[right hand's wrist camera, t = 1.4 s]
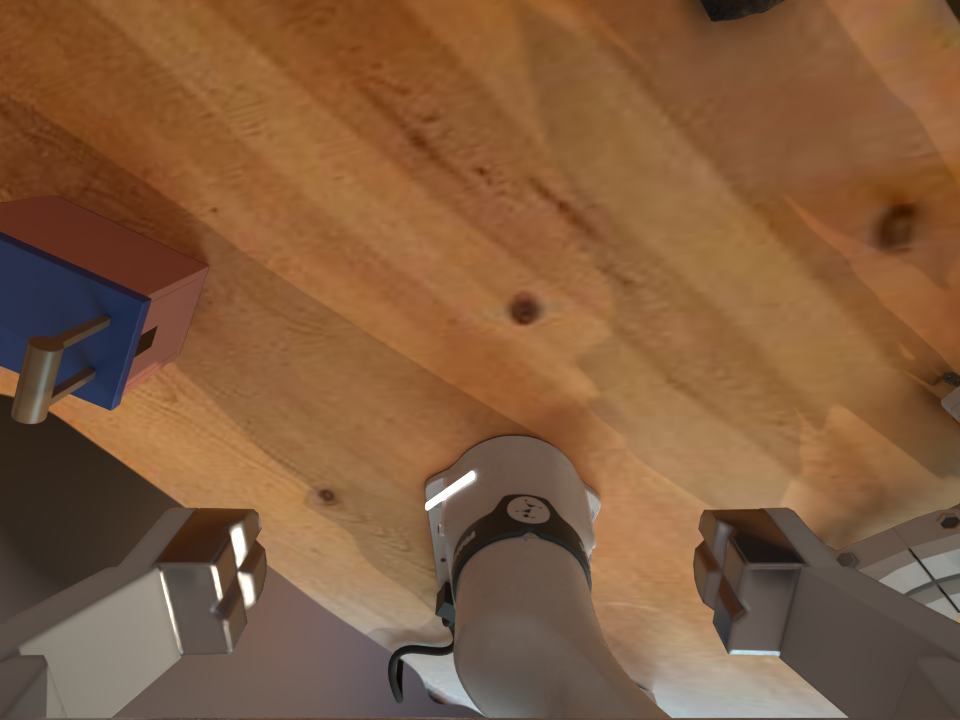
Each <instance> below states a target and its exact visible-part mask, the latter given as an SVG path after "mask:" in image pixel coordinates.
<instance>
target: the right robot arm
mask: <svg viewBox="0 0 960 720" xmlns="http://www.w3.org/2000/svg"><path fill="white" fill-rule="evenodd" d="M425 495H426V502H427V503H426V507H425V509H426V510H428V516H429V523H430V530H431V537H432V544H433V551H434V558H435V565H436V572H437V579H438V586H439V590H440V591H439V592H438V594H437V603H436V613H435V615H437V616H440V617H442V622H443V625H444V626H445V627H449V628H450V630H451V632H452V635H453V642H452V644H450V645H449V646H447V647H428V646H419V645H409V646H404V647H401V648H399V649H398V650H397V651H395V652H394V654H393V655H392V656H391V659H390V661H389V666H388V676H389V682H390V686H391V689H392V692H393V695H394V697H395V699H396V701H397V703H402V701H403V685H402V678H403V663H404V660H402V659H401V658H400V657H401V656H402V655H405V654H410V653H416V654H426V655H435V656H443V655H448V654H450V653H452V652H453V656H454V664H455V669H456V672H457V675H458V678H459V680H460V682H461V684H462V686H463V688H464V690H465V691H466V693H467V695H468V696H469V698H470V699H471V701H472V702H473V703H474V705H475V706H476V707H477V708H478V709H479V710H480V711H481V712H482V713H483V714H484V715H485V716H486V717H487V718H111V717H112V716H114V715H115V714H116V713H117V712H118V711H119V710H121V709H122V708H123V707H124V706H125V705H126V704H128V703H129V702H130V701H131V700H132V699H133V698H135V697H136V696H137V695H138V694H139V693H140V692H142V691H143V690H144V689H145V688H146V687H148V686H149V685H150V684H151V683H152V682H153V681H154V680H156V679H157V678H158V677H159V676H160V675H162V674H163V673H164V672H165V671H166V670H167V669H169V668H170V667H171V666H172V665H173V664H174V663H176V662H177V661H178V660H179V659H180V658H181V657H180V655H207V654H232V653H233V651H234V649H235V647H236V644H237V642H238V640H239V638H240V636H241V634H242V632H243V630H244V628H245V626H246V624H247V618H246V612H245V611H246V610H247V609H249V608H250V607H251V606H253V605H254V604H255V603H257V601H258V599H259V597H260V595H261V593H262V590H263V586H264V582H265V577H266V562H267V560H266V553H265V549H264V548H263V547H262V546H261V545H260V544H259V543H258V542H257V541H256V538H257V536H258V534H259V532H260V531H261V529H262V528H261V524H260V519H259V514H258V513H257V512H256V511H255V510H254V509H225V508H200V509H199V508H172V509H169V510H167V511H166V512H165V513H164V514H163V515H162V516H161V517H160V518H159V520H158V521H157V522H156V523H155V524H154V525H153V526H152V528H151V529H150V530H149V531H148V532H147V534H146V535H145V536H144V537H143V538H142V539H141V540H140V542H139V543H138V544H137V545H136V546H135V547H134V549H133V550H132V551H131V552H130V553H129V554H128V556H127V557H126V558H125V559H124V560H123V561H122V563H121V564H120V565H119V566H118V567H108V568H106V569H104V570H102V571H100V572H98V573H96V574H94V575H92V576H90V577H89V578H87V579H85V580H83V581H81V582H79V583H77V584H75V585H73V586H71V587H69V588H67V589H65V590H63V591H61V592H59V593H58V594H56V595H54V596H52V597H50V598H48V599H46V600H44V601H42V602H40V603H38V604H36V605H34V606H32V607H30V608H29V609H27V610H25V611H23V612H21V613H19V614H17V615H15V616H13V617H11V618H9V619H7V620H6V621H3V622H2V623H0V720H960V623H958V622H956V621H954V620H952V619H950V618H949V617H947V616H945V615H943V614H941V613H939V612H937V611H935V610H933V609H931V608H929V607H927V606H925V605H924V604H922V603H920V602H918V601H916V600H914V599H912V598H910V597H908V596H906V595H904V594H902V593H900V592H898V591H897V590H895V589H893V588H891V587H889V586H887V585H885V584H883V583H881V582H879V581H877V580H875V579H873V578H871V577H870V576H868V575H866V574H864V573H862V572H860V571H858V570H856V569H854V568H852V567H842V566H841V565H840V564H839V562H838V561H837V560H836V559H835V558H834V557H833V556H832V554H831V553H830V552H829V551H828V550H827V549H826V547H825V546H824V545H823V544H822V543H821V542H820V540H819V539H818V538H817V537H816V536H815V535H814V533H813V532H812V531H811V530H810V529H809V528H808V527H807V525H806V524H805V523H804V522H803V521H802V520H801V518H800V517H799V516H798V515H797V514H796V513H795V511H793V510H791V509H789V508H760V509H728V510H704V511H703V513H702V515H701V517H700V523H699V528H698V529H699V531H700V532H701V534H702V536H703V538H704V541H703V542H702V543H701V544H700V545H699V546H698V547H697V548H696V549H695V554H694V562H693V567H694V579H695V583H696V587H697V590H698V593H699V595H700V597H701V599H702V601H703V603H704V604H706V605H707V606H709V607H710V608H711V609H713V610H714V611H715V612H714V617H713V624H714V626H715V628H716V630H717V632H718V634H719V636H720V638H721V640H722V642H723V644H724V646H725V648H726V650H727V652H728V654H751V655H780V656H779V658H780V659H781V660H782V661H784V662H785V663H786V664H787V665H788V666H789V667H791V668H792V669H793V670H794V671H795V672H796V673H798V674H799V675H800V676H801V677H802V678H803V679H805V680H806V681H807V682H808V683H809V684H810V685H812V686H813V687H814V688H815V689H816V690H817V691H819V692H820V693H821V694H822V695H823V696H824V697H826V698H827V699H828V700H829V701H830V702H831V703H833V704H834V705H835V706H836V707H837V708H838V709H839V710H841V711H842V712H843V713H844V714H845V715H846V716H848V717H849V718H671V717H670V716H669V715H668V714H667V713H665V712H664V711H663V710H662V709H661V708H659V707H658V706H657V705H656V704H655V703H654V702H653V701H652V700H651V699H650V698H649V697H648V696H647V695H646V694H645V693H644V692H643V691H642V690H641V689H640V688H639V687H638V686H637V685H636V684H635V683H634V682H633V680H632V679H631V678H630V677H629V676H628V675H627V673H626V672H625V671H624V670H623V668H622V667H621V666H620V664H619V663H618V662H617V660H616V659H615V657H614V656H613V654H612V652H611V651H610V649H609V647H608V645H607V643H606V641H605V638H604V636H603V633H602V630H601V627H600V624H599V621H598V618H597V615H596V612H595V609H594V606H593V602H592V599H591V595H590V594H591V569H590V562H591V551H592V549H593V548H595V547H596V537H595V531H594V526H593V523H594V521H595V519H596V516H597V514H598V512H599V510H600V507H601V502H600V497H599V495H598V494H597V493H596V492H595V491H594V490H593V489H592V488H591V487H589V486H588V485H587V484H585V483H584V482H583V481H582V480H581V479H580V477H579V476H578V474H577V472H576V470H575V468H574V466H573V465H572V463H571V462H570V460H569V459H568V458H567V457H566V456H565V455H564V454H563V453H562V452H561V451H560V450H558V449H557V448H555V447H554V446H552V445H551V444H549V443H547V442H544V441H542V440H539V439H536V438H532V437H527V436H502V437H497V438H493V439H490V440H487V441H484V442H482V443H480V444H478V445H476V446H474V447H473V448H471V449H470V450H468V451H467V452H466V453H465V454H464V455H463V456H462V457H461V458H460V459H459V460H458V461H457V462H456V463H455V464H454V465H453V466H452V467H451V468H449V469H448V470H446V471H443V472H441V473H439V474H437V475H435V476H433V477H431V478H430V479H428V480H427V482H426V484H425ZM396 663H397V670H396V673H395V667H396Z"/></svg>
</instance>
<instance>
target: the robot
mask: <svg viewBox="0 0 960 720" xmlns="http://www.w3.org/2000/svg"><path fill="white" fill-rule="evenodd" d="M941 379H942V380H943V381H945V382H946V383H949V384H952V385H954V386H956V387H957V388H956V389H955V390H953V391H952V392H951V393H949V394H948V395H947V396H946V397H944V398H943V399H942V400H941V403H942V407H943V408H944V409H945V410H946V411H948V412H949V413H950V414H951V415H952V416H953V419H954V420H955V421H956V422H957V423H958V424H959V425H960V375H958V374H955V373H945V374H944V375H943V376H942V378H941ZM820 542H821V543H822V544H823V545H824V546H825V547H826V549H827V550H828V551H829V552H830V553H831V554H832V556H833V557H834V558H835V559H836V560H837V561H838V562H839V564H840V565H841V566H842V567H852V568H854V569H856V570H858V571H860V572H862V573H864V574H866V575H868V576H870V577H871V578H873V579H875V580H877V581H879V582H881V583H883V584H885V585H887V586H889V587H891V588H893V589H895V590H897V591H898V592H900V593H902V594H904V595H906V596H908V597H910V598H912V599H914V600H916V601H918V602H920V603H922V604H924V605H925V606H927V607H929V608H931V609H933V610H935V611H937V612H939V613H941V614H943V615H945V616H947V617H949V618H950V619H952V620H953V619H955V618H958V617H960V616H959V614H958V613H960V504H958V505H956V506H954V507H952V508H950V509H947V510H938V511H935V512H932V513H929V514H926V515H923V516H920V517H917V518H914V519H912V520H909V521H907V522H905V523H902V524H900V525H897V526H895V527H893V528H890V529H888V530H886V531H883V532H881V533H878V534H876V535H874V536H871V537H869V538H866V539H864V540H862V541H859V542H857V543H854V544H852V545H850V546H847V547H845V548H843V549H840V550H839V551H837V550H835V549H833V548H831V547H829V546H827V545H825V544H824V543H823V542H822V541H821V540H820Z"/></svg>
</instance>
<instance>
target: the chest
mask: <svg viewBox="0 0 960 720" xmlns="http://www.w3.org/2000/svg"><path fill="white" fill-rule="evenodd" d="M0 232H2V233H5V234H7V235H9V236H11V237H14V238H16V239H18V240H20V241H23V242H25V243H27V244H29V245H32V246H34V247H36V248H39V249H41V250H43V251H45V252H48V253H50V254H52V255H54V256H57V257H59V258H61V259H63V260H66V261H68V262H70V263H72V264H75V265H77V266H79V267H81V268H84V269H86V270H88V271H91V272H93V273H95V274H97V275H100V276H102V277H104V278H106V279H109V280H111V281H113V282H115V283H118V284H120V285H122V286H124V287H127V288H129V289H131V290H133V291H136V292H138V293H140V294H142V295H145V296H147V297H149V298H151V299H152V301H151V304H150V307H149V310H148V314H147V317H146V320H145V323H144V327H143V330H142V333H141V337H140V340H139V343H138V346H137V350H136V353H135V356H134V359H133V363H132V366H131V369H130V372H129V376H128V379H127V382H126V385H125V389H124V392H123V395H122V396H124V395H125V394H126V393H128V392H129V391H131V390H132V389H133V388H135V387H136V386H138V385H139V384H140V383H142V382H143V381H144V380H146V379H147V378H149V377H150V376H151V375H153V374H154V373H156V372H157V371H158V370H160V369H161V368H162V367H164V366H165V365H167V364H168V363H169V362H171V361H172V360H173V359H175V358H176V357H177V356H179V355H180V352H181V349H182V346H183V343H184V340H185V337H186V334H187V331H188V328H189V325H190V322H191V319H192V316H193V313H194V310H195V307H196V304H197V301H198V298H199V295H200V292H201V289H202V286H203V283H204V280H205V277H206V274H207V272H208V269H209V266H208V265H206V264H203V263H201V262H199V261H197V260H195V259H193V258H190V257H188V256H186V255H184V254H182V253H180V252H177V251H175V250H173V249H171V248H169V247H166V246H164V245H162V244H160V243H158V242H156V241H153V240H151V239H149V238H147V237H145V236H143V235H140V234H138V233H136V232H134V231H132V230H129V229H127V228H125V227H123V226H121V225H119V224H116V223H114V222H112V221H110V220H108V219H106V218H103V217H101V216H99V215H97V214H95V213H92V212H90V211H88V210H86V209H84V208H82V207H79V206H77V205H75V204H73V203H71V202H69V201H66V200H64V199H62V198H60V197H58V196H55V195H54V196H45V197H38V198H31V199H23V200H16V201H8V202H1V203H0Z"/></svg>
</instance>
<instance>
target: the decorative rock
mask: <svg viewBox="0 0 960 720" xmlns="http://www.w3.org/2000/svg"><path fill="white" fill-rule="evenodd" d="M700 1H701V3H702V4H703V6H704V8H705V10H706V11H707V13H708V15H709V17H710V19H711V21H715V22H716V21H722V20H733V19H739V18H743V17H745V16H747V15H750V14H754V13H763V12H765V11H767V10H769V9H771V8H772V7H773V6H775V5H777V4H779V3H780V2H782V1H784V0H700Z"/></svg>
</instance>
